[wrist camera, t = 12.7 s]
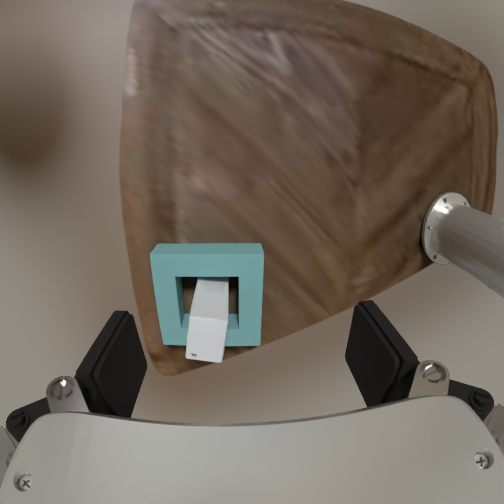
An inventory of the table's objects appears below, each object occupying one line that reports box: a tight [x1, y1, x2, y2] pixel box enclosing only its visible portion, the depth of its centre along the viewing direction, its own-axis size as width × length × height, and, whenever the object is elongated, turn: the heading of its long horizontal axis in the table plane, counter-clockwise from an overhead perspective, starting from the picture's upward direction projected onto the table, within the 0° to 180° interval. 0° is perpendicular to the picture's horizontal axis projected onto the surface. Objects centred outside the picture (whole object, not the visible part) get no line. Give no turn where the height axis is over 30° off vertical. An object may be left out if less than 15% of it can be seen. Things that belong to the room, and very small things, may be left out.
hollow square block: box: [150, 243, 264, 346], centre depth 37 cm, size 14×14×4 cm
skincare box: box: [186, 277, 229, 363], centre depth 34 cm, size 6×4×12 cm
